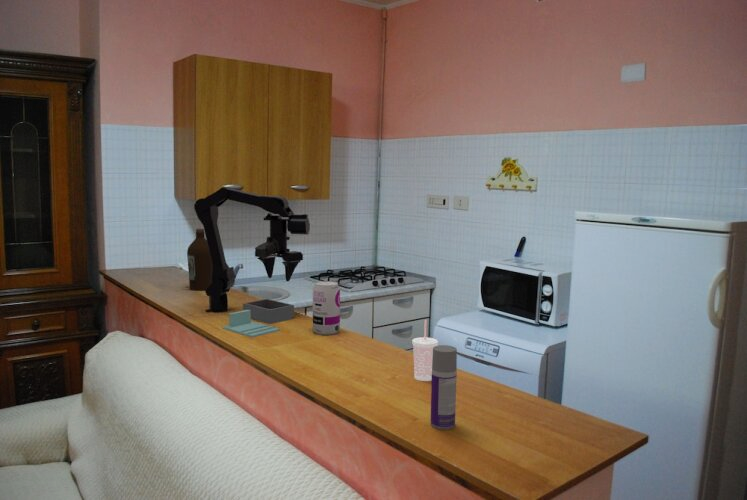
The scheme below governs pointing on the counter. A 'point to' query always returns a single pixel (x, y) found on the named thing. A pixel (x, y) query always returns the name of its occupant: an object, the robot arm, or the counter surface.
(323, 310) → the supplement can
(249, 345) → the counter surface
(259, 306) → the tub
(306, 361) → the counter surface
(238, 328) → the lid
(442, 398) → the container
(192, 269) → the olive oil
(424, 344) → the beverage cup
